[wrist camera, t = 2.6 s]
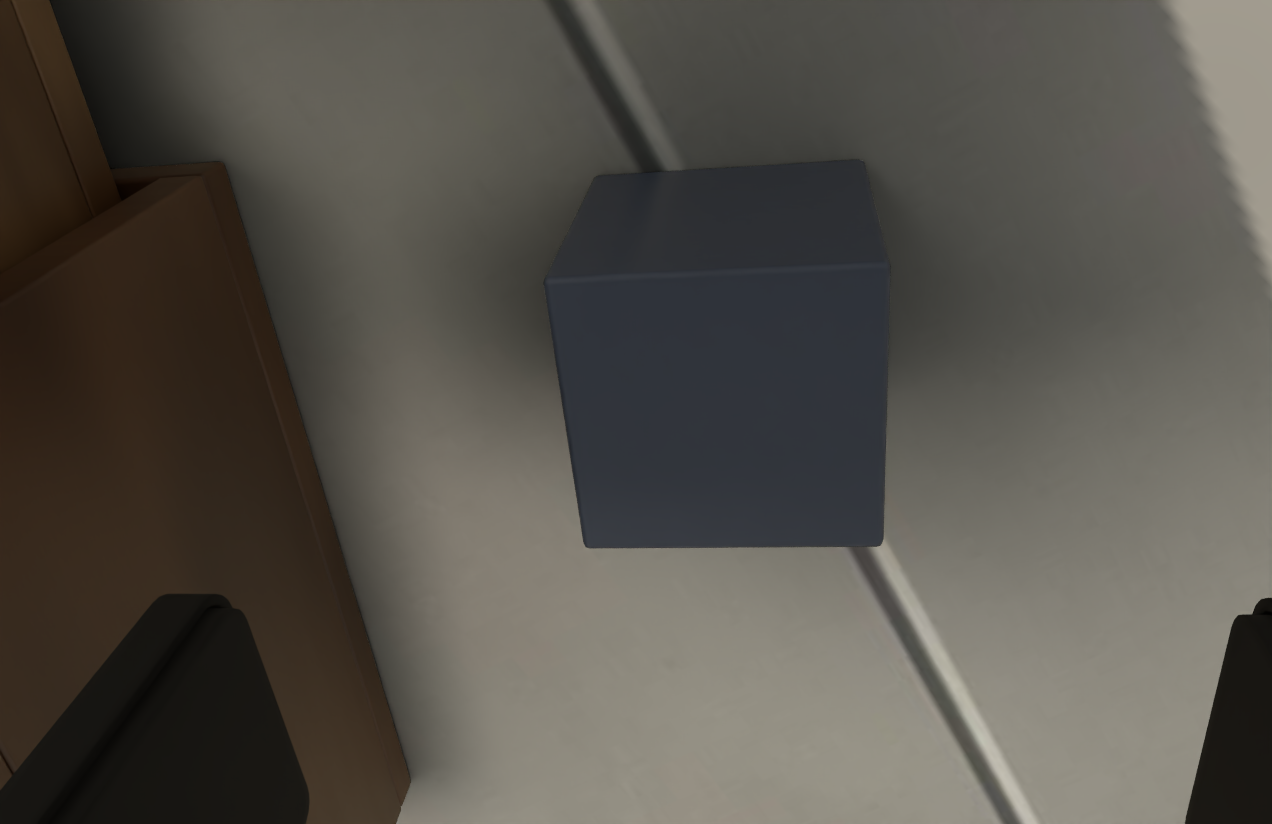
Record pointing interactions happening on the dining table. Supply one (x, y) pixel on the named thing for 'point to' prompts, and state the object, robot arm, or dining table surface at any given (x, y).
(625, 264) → the block
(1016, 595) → the dining table surface
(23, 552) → the cabinet
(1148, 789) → the dining table surface
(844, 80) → the dining table surface
